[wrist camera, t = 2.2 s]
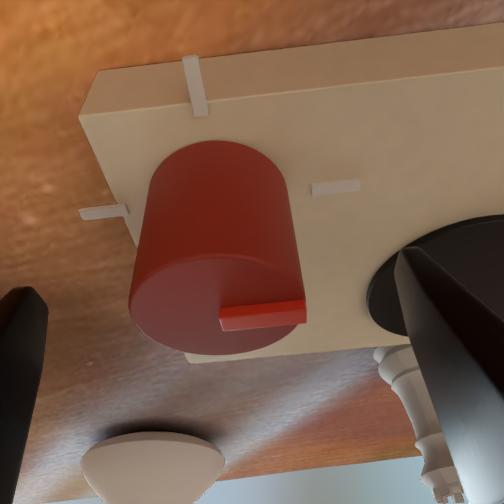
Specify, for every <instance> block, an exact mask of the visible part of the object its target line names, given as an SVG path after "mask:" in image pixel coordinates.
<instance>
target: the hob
mask: <svg viewBox="0 0 504 504" xmlns="http://www.w3.org/2000/svg"><path fill="white" fill-rule="evenodd" d="M78 118H79V121H80V123H81V125H82V127H83V129H84V132H85V134H86V136H87V138H88V141H89V143H90V145H91V147H92V149H93V152H94V154H95V156H96V158H97V161H98V163H99V165H100V167H101V169H102V172H103V174H104V176H105V178H106V181H107V183H108V185H109V187H110V190H111V192H112V194H113V196H114V198H115V201H116V203H117V204H115V205H106V206H96V207H87V208H80V209H79V211H78V212H79V214H80V216H81V217H82V219H83V220H91V219H101V218H110V217H119V216H123V218H124V221H125V223H126V225H127V227H128V230H129V232H130V234H131V236H132V238H133V241H134V243H135V245H136V247H137V250H138V245H139V239H140V234H141V228H142V223H143V217H144V212H145V206H146V200H147V195H148V189H149V185H150V181H151V178H152V176H153V174H154V172H155V171H156V169H157V168H158V166H159V165H160V164H161V163H162V162H163V161H164V160H165V159H166V158H167V157H169V156H170V155H171V154H172V153H174V152H176V151H177V150H179V149H181V148H184V147H186V146H188V145H192V144H195V143H199V142H205V141H229V142H235V143H239V144H243V145H246V146H248V147H251V148H253V149H255V150H257V151H259V152H260V153H262V154H264V155H265V156H266V157H267V158H269V159H270V160H271V161H272V162H273V163H274V164H275V165H276V166H277V167H278V169H279V170H280V172H281V173H282V175H283V177H284V179H285V182H286V186H287V190H288V196H289V202H290V208H291V214H292V220H293V225H294V231H295V237H296V243H297V249H298V255H299V260H300V266H301V272H302V278H303V284H304V289H305V295H306V308H307V322H306V323H305V324H298V325H297V327H296V328H295V329H294V330H293V331H292V332H291V333H289V334H288V335H287V336H285V337H284V338H283V339H281V340H279V341H277V342H276V343H273V344H271V345H269V346H267V347H264V348H261V349H258V350H254V351H251V352H246V353H241V354H233V355H199V354H191V353H186V352H184V354H185V356H186V359H187V361H188V363H189V364H198V363H208V362H219V361H230V360H241V359H251V358H262V357H273V356H283V355H294V354H305V353H315V352H326V351H337V350H347V349H358V348H369V347H379V346H390V345H401V344H411V343H410V340H409V337H406V336H401V335H397V334H393V333H391V332H389V331H386V330H385V329H383V328H381V327H380V326H379V325H377V324H376V323H375V322H374V321H373V319H372V318H371V316H370V314H369V312H368V308H367V303H366V293H367V290H368V286H369V284H370V282H371V280H372V278H373V276H374V275H375V274H376V272H377V271H378V269H379V268H380V267H381V266H382V265H383V264H384V263H385V262H386V261H387V260H388V259H389V258H390V257H391V256H393V255H394V254H395V253H396V252H398V251H399V250H400V249H402V248H403V247H405V246H406V245H408V244H409V243H411V242H413V241H414V240H416V239H418V238H420V237H422V236H424V235H426V234H428V233H430V232H432V231H434V230H437V229H439V228H442V227H444V226H447V225H450V224H453V223H457V222H460V221H463V220H468V219H472V218H476V217H483V216H490V215H503V214H504V22H502V23H494V24H485V25H477V26H469V27H460V28H452V29H444V30H435V31H427V32H419V33H410V34H402V35H394V36H385V37H377V38H369V39H360V40H352V41H344V42H335V43H327V44H319V45H310V46H302V47H294V48H285V49H277V50H269V51H260V52H252V53H244V54H235V55H227V56H218V57H210V58H202V59H199V56H198V55H190V56H183V57H182V61H177V62H168V63H160V64H152V65H143V66H135V67H127V68H118V69H110V70H102V71H98V72H97V74H96V76H95V79H94V81H93V83H92V85H91V88H90V90H89V92H88V94H87V97H86V99H85V101H84V103H83V106H82V108H81V110H80V113H79V115H78Z"/></svg>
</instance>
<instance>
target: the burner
mask: <svg viewBox="0 0 504 504" xmlns="http://www.w3.org/2000/svg"><path fill="white" fill-rule="evenodd" d="M406 247H419V248H421V249H422V250H423V251H424V252H425V253H427V254H428V255H429V256H430V257H431V258H432V259H434V260H435V261H436V262H437V263H438V264H439V265H440V266H442V267H443V268H444V269H445V270H446V271H447V272H448V273H450V274H451V275H452V276H453V277H454V278H455V279H456V280H458V281H459V282H460V283H461V284H462V285H463V286H465V287H466V288H467V289H468V290H469V291H470V292H471V293H473V294H474V295H475V296H476V297H477V298H478V299H479V300H481V301H482V302H483V303H484V304H485V305H486V306H488V307H489V308H490V309H491V310H492V311H493V312H494V313H496V314H497V315H498V316H499V317H500V318H501V319H502V320H504V214H503V215H490V216H483V217H476V218H472V219H468V220H463V221H460V222H457V223H453V224H450V225H447V226H444V227H442V228H439V229H437V230H434V231H432V232H430V233H428V234H426V235H424V236H422V237H420V238H418V239H416V240H414V241H413V242H411V243H409V244H408V245H406V246H405V247H403V248H406ZM400 250H401V249H400ZM400 250H399V251H400ZM399 251H398V252H396V253H395V254H394V255H393V256H391V257H390V258H389V259H388V260H387V261H386V262H385V263H384V264H383V265H382V266H381V267H380V268H379V269H378V271H377V272H376V274H375V275H374V276H373V278H372V280H371V282H370V284H369V286H368V290H367V293H366V303H367V308H368V312H369V314H370V316H371V318H372V319H373V321H374V322H375V323H376V324H377V325H379V326H380V327H381V328H383V329H385V330H386V331H389V332H391V333H393V334H397V335H401V336H406V337H408V334H407V330H406V326H405V321H404V317H403V313H402V308H401V304H400V299H399V295H398V291H397V286H396V282H395V276H394V270H395V266H396V262H397V258H398V254H399Z"/></svg>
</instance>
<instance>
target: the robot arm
mask: <svg viewBox="0 0 504 504" xmlns="http://www.w3.org/2000/svg"><path fill="white" fill-rule="evenodd" d="M394 276H395V282H396V286H397V291H398V295H399V299H400V304H401V308H402V313H403V317H404V321H405V326H406V330H407V334H408V337H409V340H410V343H411V346H412V349H413V351H414V354H415V357H416V360H417V363H418V365H419V368H420V371H421V374H422V376H423V379H424V382H425V385H426V388H427V390H428V393H429V396H430V399H431V401H432V404H433V407H434V410H435V413H436V415H437V418H438V421H439V424H440V426H441V429H442V432H443V435H444V438H445V440H446V443H447V446H448V449H449V451H450V454H451V457H452V460H453V463H454V465H455V468H456V471H457V474H458V476H459V479H460V482H461V485H462V488H463V490H464V493H465V496H466V499H467V501H468V504H504V320H502V319H501V318H500V317H499V316H498V315H497V314H496V313H494V312H493V311H492V310H491V309H490V308H489V307H488V306H486V305H485V304H484V303H483V302H482V301H481V300H479V299H478V298H477V297H476V296H475V295H474V294H473V293H471V292H470V291H469V290H468V289H467V288H466V287H465V286H463V285H462V284H461V283H460V282H459V281H458V280H456V279H455V278H454V277H453V276H452V275H451V274H450V273H448V272H447V271H446V270H445V269H444V268H443V267H442V266H440V265H439V264H438V263H437V262H436V261H435V260H434V259H432V258H431V257H430V256H429V255H428V254H427V253H425V252H424V251H423V250H422V249H421V248H419V247H406V248H402V249H401V250H400V251H399V254H398V258H397V262H396V266H395V270H394ZM48 315H49V311H48V307H47V304H46V303H45V302H44V300H43V299H42V298H41V297H40V295H39V294H38V293H37V292H36V291H35V289H34V288H32V287H30V286H26V287H16V288H13V289H12V290H10V291H9V292H8V293H7V294H6V295H5V296H4V297H3V298H2V299H1V300H0V504H12V503H13V499H14V494H15V490H16V486H17V481H18V477H19V472H20V468H21V463H22V459H23V454H24V450H25V446H26V441H27V437H28V432H29V428H30V423H31V419H32V414H33V410H34V406H35V401H36V397H37V392H38V388H39V383H40V379H41V374H42V369H43V362H44V353H45V343H46V334H47V324H48Z"/></svg>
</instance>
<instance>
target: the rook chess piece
mask: <svg viewBox="0 0 504 504" xmlns="http://www.w3.org/2000/svg"><path fill="white" fill-rule="evenodd" d="M374 359H375V360H376V361H377V362H378V363H379V374H380V375H381V377H382V378H383V379H384V380H385V381H386V382H387V383H389V384H390V385H392V390H393V391H394V392H395V393H397V394H398V396H399V397H400V399H401V401H402V403H403V405H404V407H405V409H406V411H407V414H408V416H409V418H410V420H411V423H412V425H413V428H414V431H415V435H416V438H417V439H416V442H415V447H417V448H418V449H419V450H420V451H421V453H422V455H423V458H424V463H425V464H424V468H423V470H422V474H421V477H420V480H421V481H422V482H423V483H424V484H425V485H426V486H427V487H428V488H429V489H430V490H431V491H432V494H433V497H434V500H435V501H437V502H438V503H443V504H445V503H448V499H447V497H448V496H452V499H453V502H454V503H463V502H464V499H463V496H462V494H461V493H464V490H463V488H462V485H461V482H460V479H459V476H458V474H457V471H456V468H455V465H454V463H453V460H452V457H451V454H450V451H449V449H448V446H447V443H446V440H445V438H444V435H443V432H442V429H441V426H440V424H439V421H438V418H437V415H436V413H435V410H434V407H433V404H432V401H431V399H430V396H429V393H428V390H427V388H426V385H425V382H424V379H423V376H422V374H421V371H420V368H419V365H418V363H417V360H416V357H415V354H414V351H413V349H412V346H411V344H401V345H390V346H379V347H375V350H374Z"/></svg>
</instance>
